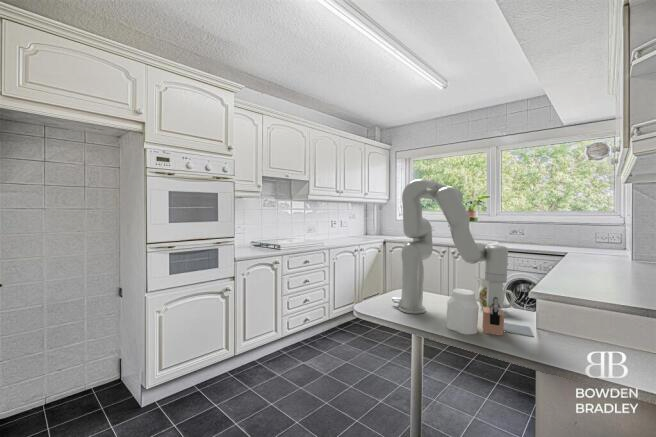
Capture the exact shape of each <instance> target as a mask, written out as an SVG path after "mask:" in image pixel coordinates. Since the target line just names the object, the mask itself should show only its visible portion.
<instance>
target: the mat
mask: <svg viewBox="0 0 656 437" xmlns="http://www.w3.org/2000/svg"><path fill="white" fill-rule="evenodd" d="M504 331H505V332H504ZM503 332H504V333H507V332H509V334H513V333H514V334H513V335H518V334H519V335H520V336H525V337H531V338H534V333H533V331H532V329H531V327H530V326H527V325H521V324H520V325H519V324H515V323H509V322H504V327H503Z"/></svg>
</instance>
